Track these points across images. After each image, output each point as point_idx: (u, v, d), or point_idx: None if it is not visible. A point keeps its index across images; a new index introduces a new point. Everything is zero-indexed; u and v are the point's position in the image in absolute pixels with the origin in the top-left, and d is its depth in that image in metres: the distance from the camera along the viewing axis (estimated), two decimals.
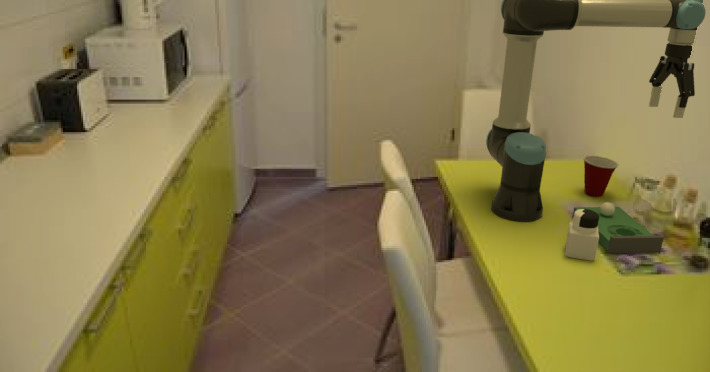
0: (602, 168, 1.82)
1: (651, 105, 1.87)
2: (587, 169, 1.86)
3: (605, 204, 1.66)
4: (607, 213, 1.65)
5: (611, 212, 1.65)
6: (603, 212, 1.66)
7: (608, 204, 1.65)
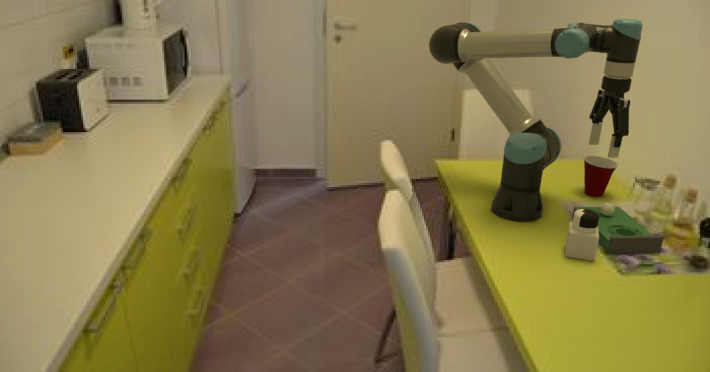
0: (602, 168, 1.82)
1: (591, 143, 1.74)
2: (587, 169, 1.86)
3: (605, 204, 1.66)
4: (607, 213, 1.65)
5: (611, 212, 1.65)
6: (603, 212, 1.66)
7: (608, 204, 1.65)
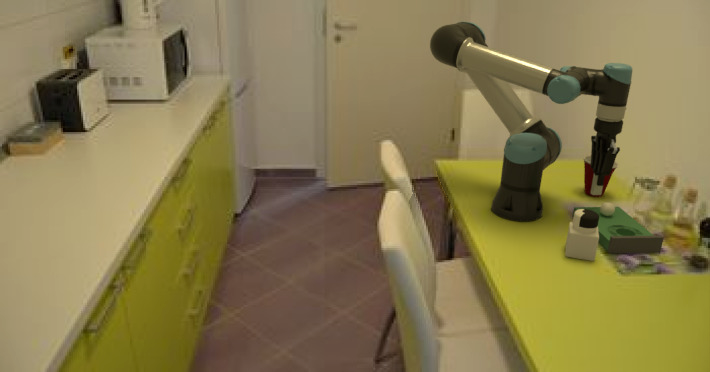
0: None
1: None
2: (587, 169, 1.86)
3: (605, 204, 1.66)
4: (607, 213, 1.65)
5: (611, 212, 1.65)
6: (603, 212, 1.66)
7: (608, 204, 1.65)
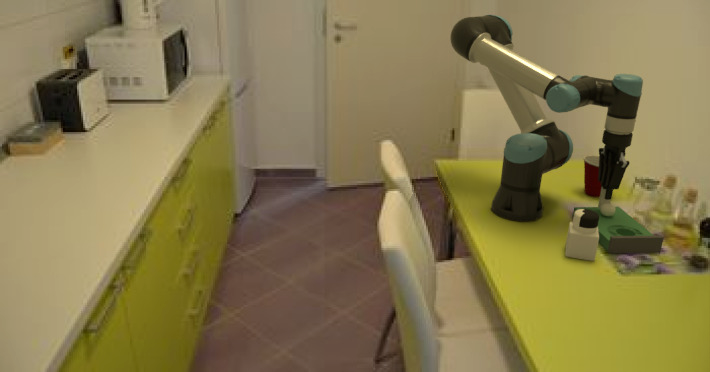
0: None
1: (600, 206, 1.69)
2: (587, 169, 1.86)
3: (606, 205, 1.65)
4: (607, 214, 1.65)
5: (611, 213, 1.65)
6: (603, 213, 1.66)
7: (609, 205, 1.65)
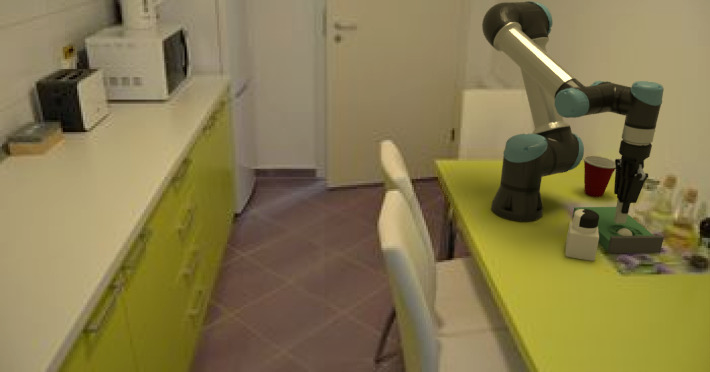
0: (602, 168, 1.82)
1: None
2: (587, 169, 1.86)
3: (618, 233, 1.57)
4: None
5: None
6: None
7: (620, 231, 1.56)
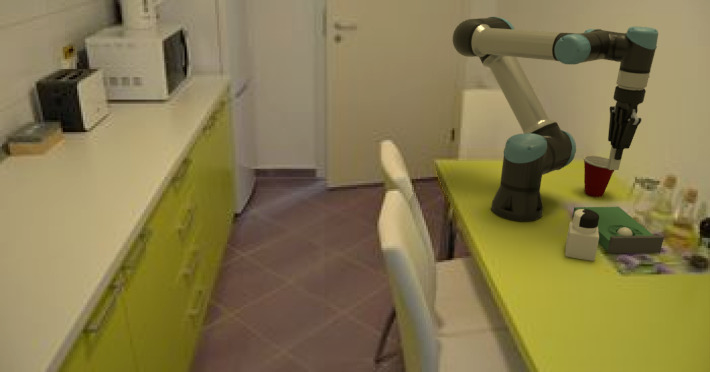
0: (602, 168, 1.82)
1: None
2: (587, 169, 1.86)
3: (618, 230, 1.58)
4: None
5: (628, 233, 1.56)
6: None
7: (620, 228, 1.58)
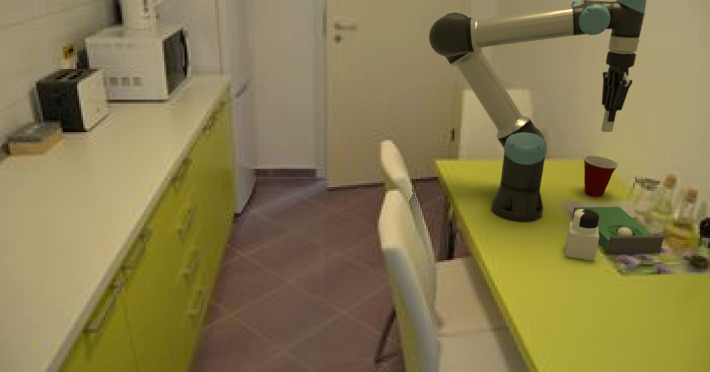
0: (602, 168, 1.82)
1: None
2: (587, 169, 1.86)
3: (618, 230, 1.58)
4: None
5: (628, 233, 1.56)
6: None
7: (620, 228, 1.58)
